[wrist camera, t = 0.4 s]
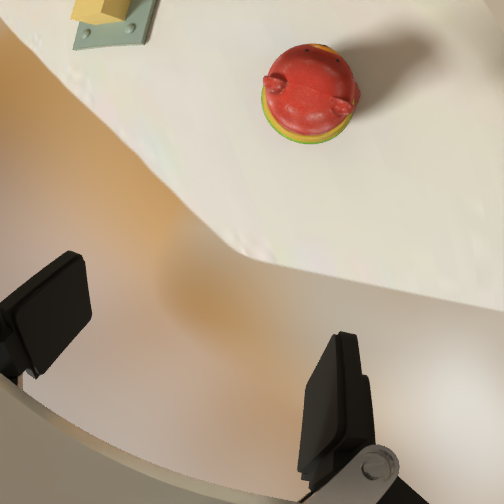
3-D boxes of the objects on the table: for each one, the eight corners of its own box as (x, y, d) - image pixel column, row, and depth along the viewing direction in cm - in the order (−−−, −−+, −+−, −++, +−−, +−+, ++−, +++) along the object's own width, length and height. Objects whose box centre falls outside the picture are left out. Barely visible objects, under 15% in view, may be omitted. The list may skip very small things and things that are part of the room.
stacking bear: (364, 86, 30) (411, 62, 14) (331, 155, 35) (352, 185, 19) (284, 50, 30) (263, -3, 14) (253, 119, 35) (207, 120, 19)
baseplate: (96, -20, 26) (92, -22, 25) (167, -33, 25) (164, -36, 24) (76, 50, 32) (71, 49, 31) (144, 44, 32) (139, 43, 30)
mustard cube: (104, -7, 27) (81, -16, 21) (134, -12, 26) (112, -24, 21) (95, 25, 29) (70, 19, 24) (124, 21, 29) (100, 12, 24)
